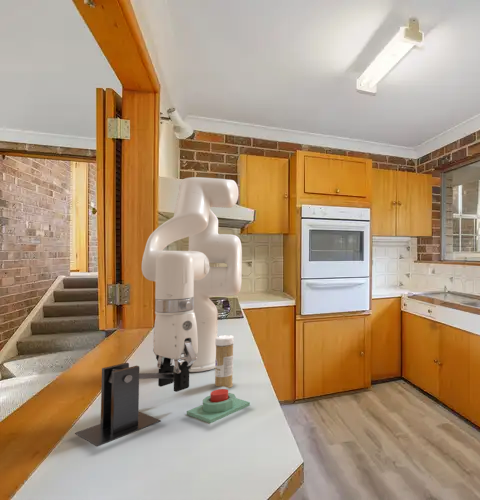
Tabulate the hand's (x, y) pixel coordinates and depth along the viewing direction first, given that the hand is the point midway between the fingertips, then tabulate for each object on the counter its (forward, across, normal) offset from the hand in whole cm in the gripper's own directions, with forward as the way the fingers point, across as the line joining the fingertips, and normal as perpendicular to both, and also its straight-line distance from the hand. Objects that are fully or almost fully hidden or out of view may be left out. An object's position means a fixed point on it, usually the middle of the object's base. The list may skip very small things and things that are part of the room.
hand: (173, 386), depth 78 cm
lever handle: (-3, 0, +6) cm, 7 cm away
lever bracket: (+6, 0, +11) cm, 12 cm away
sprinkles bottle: (+6, +3, -15) cm, 17 cm away
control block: (+6, -10, -4) cm, 12 cm away
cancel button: (+3, -10, -4) cm, 11 cm away
